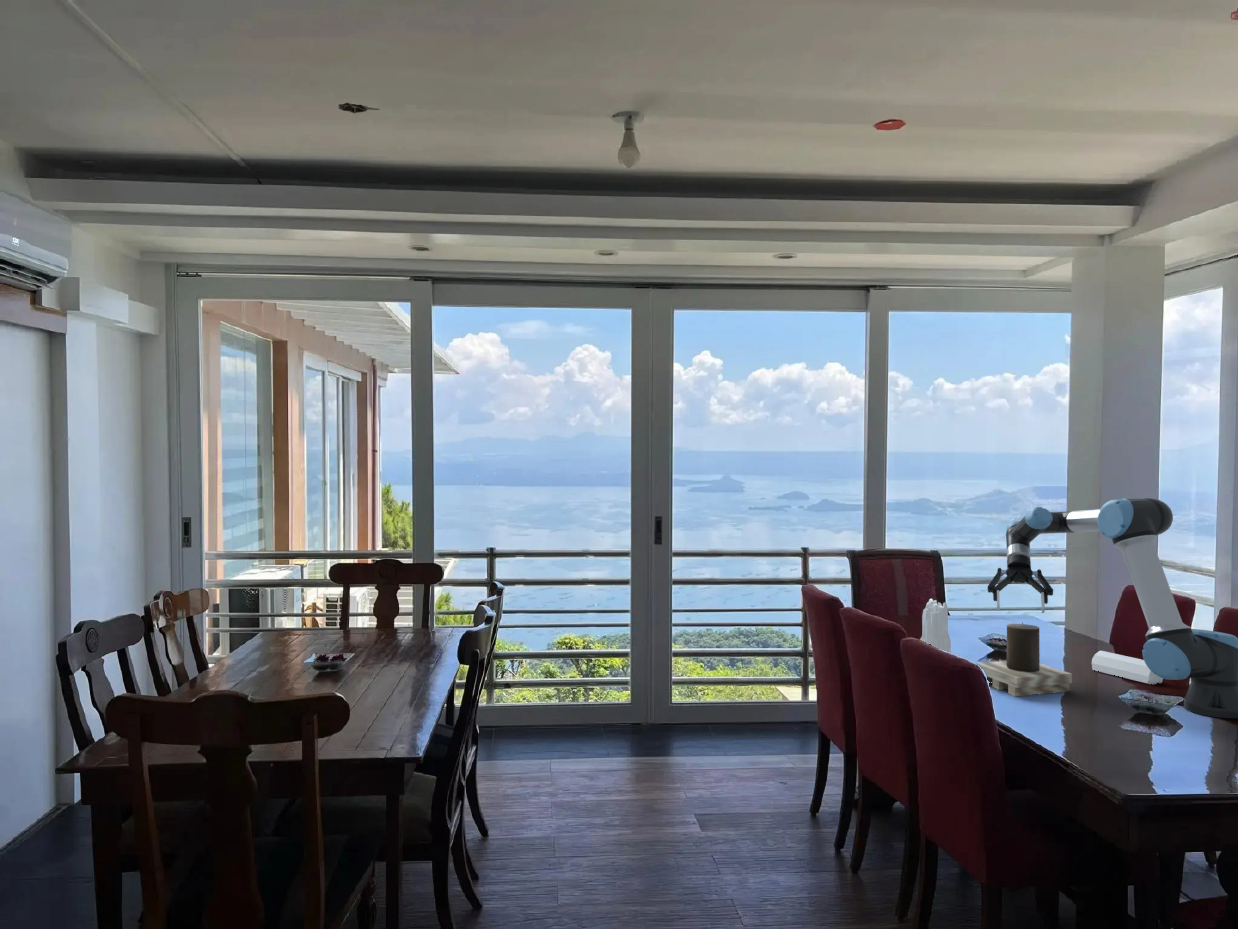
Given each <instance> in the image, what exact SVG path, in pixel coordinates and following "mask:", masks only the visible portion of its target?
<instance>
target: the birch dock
mask: <svg viewBox="0 0 1238 929" xmlns="http://www.w3.org/2000/svg"><path fill="white" fill-rule="evenodd" d="M1006 663H1007V660H1002V661H1001V660H999V661H986V662H975V665H976V664H977V665H979V666H980V667H981V669H983V670H984V672H985V674H986V676H987V680H988V681H989V682H990V684H991V682H992V688H993V687H994V688H993V689H995V688H996V689H995V690H998V691H1004V689H1007V692H1008V695H1010V694H1011V695H1010V696H1013V697H1023V696H1025V697H1027V696H1033V695H1032V694H1038V695H1040V694H1039V693H1050V694H1057V693H1056V692H1062V693H1069V692H1068V691H1070V689H1071V688H1070V687H1071V685H1070V684H1073V674H1072V673H1071V672H1068V671H1065V670H1061V669H1058V668H1055V667H1052V666H1049V665H1046V664H1043V663H1040V670H1039V671H1034V672H1025V671H1018V670H1012V669H1010V668H1008V667H1007V665H1006ZM990 684H989V685H990ZM1066 691H1067V692H1066ZM1054 692H1055V693H1054ZM1070 692H1071V691H1070Z"/></svg>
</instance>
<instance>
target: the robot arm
mask: <svg viewBox="0 0 1238 929" xmlns="http://www.w3.org/2000/svg"><path fill="white" fill-rule="evenodd" d="M1173 521H1174V514H1173V511H1172V509H1171V507H1170V506H1169V504H1167V503H1165V502H1164V501H1162V500H1161V499H1157V498H1151V497H1149V498H1147V497H1145V498H1123V497H1121V498H1119V499H1112V500H1108V501H1106V502H1105V503H1104V504H1103V505H1102V506H1101V507H1100V508H1096V509H1083V510H1071V511H1069V510H1067V511H1049V509H1047V508H1044V507H1042V506H1036V507H1034V508H1032V509H1031V510H1029V511H1028V512H1027V513H1026V514H1025V515H1024V516H1023V518H1021V519H1020V520H1016V521H1013V522H1010V523H1008V525H1007V526H1006V532H1005V539H1006V540H1005V541H1006V542H1005V543H1006V569H1002V568H1001V567H998V568H997V571H996V574H995V575H994V576H993V578H992V579H991V580H990V582H989V584H988V586H987V593H989V594H990V593H992V596H993V597H992V598H993V599H992V600H993V602H996V603H997V604H996V611H1000V609H1001V608H1000V607H1001V606H1000V605H1001V604H1000V603H1001V602H1000V592H1001V591H1002V590H1003V589H1005V588H1006V587H1007V586H1008V585H1011V584H1012V583H1021V584H1025V583H1027V584H1028V585H1030V586H1031V587H1032V588H1033V589H1035V591H1037V592H1038V593H1039V594H1040V601H1041V603H1040V604H1041V605H1040V606H1041V614H1045V609H1046V608H1045V605H1048V603H1049V596H1053V595H1054V589H1053V587H1052V586H1051V585H1050V583H1049V582H1048V580H1047V579H1046V578H1045V576H1044V575H1043V573H1042V570H1041V569H1040V568H1039V569H1037V570H1034V571H1033V570H1032V564H1031V545H1030V544H1031V542H1033V541H1034V540H1035V539H1036V538H1037V537H1038V536H1039V535H1041V534H1045V535H1046V534H1073V533H1088V532H1089V533H1091V532H1093V533H1094V532H1100V533H1101V534H1102V535H1104V536H1105V537H1106V538H1108V539H1111V541H1112V543H1113V546H1114V548H1116V549H1118V550H1120V551H1121V552H1122V553H1121V554H1122V555H1123V559H1124V561H1125V564H1126V567H1127V569H1128V572H1129V575H1130V578H1131V580H1132V584H1133V587H1134V590H1135V592H1136V593H1135V594H1136V595H1137V598H1138V601H1139V604H1140V607H1141V610H1142V612H1143V615H1144V618H1145V620H1146V624H1147V628H1148V630H1147V632H1146V634H1145V635H1144V636H1145V639H1146V642H1145V643H1144V644H1143V647H1142V648H1143V649H1142V651H1141V652H1142V658H1143V659H1142V660H1144V662H1145V664H1146V665H1147V667H1148V668H1149V669H1150V670H1151V671H1152V672H1153V673H1154V674H1156V675H1157V676H1159V677H1161V678H1163V680H1167V681H1168V680H1169V681H1170V680H1171V681H1172V680H1176V681H1180V680H1185V679H1187V680H1188V679H1190V684H1189V685H1188V688H1187V691H1186V695H1185V696H1184V698H1183V707H1184V709H1185V710H1187V711H1189V712H1191V711H1192V713H1194V712H1195V714H1199V715H1202V716H1207V717H1211V718H1212V717H1213V718H1222V719H1238V637H1237V636H1236V635H1233V634H1230V633H1226V632H1220V631H1214V630H1209V629H1208V630H1207V629H1198V628H1192V627H1191V626H1189V625H1187V624H1185V623H1184V622H1183V620H1182V617H1181V615H1180V612H1179V610H1178V607H1177V603H1176V602H1175V598H1174V596H1173V593H1172V590H1171V587H1170V585H1169V582H1168V578H1167V576H1166V572H1165V571H1164V568H1163V566H1162V562H1161V560H1160V556H1159V555H1158V552H1157V550H1156V546H1155V542H1156V541H1157V539H1158V536H1159V535H1162V534H1164V533H1165V532H1167V530H1169V529H1170V527H1171V526H1172V525H1173ZM1004 576H1005V578H1003V580H1001V578H1002V577H1004ZM1033 576H1034V577H1035V578H1036V579H1037V580H1038V581H1037V580H1035V579H1034V577H1033ZM1000 580H1001V581H1000ZM999 581H1000V582H999ZM1039 582H1040V583H1039Z"/></svg>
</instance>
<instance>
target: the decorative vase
mask: <svg viewBox="0 0 1238 929" xmlns="http://www.w3.org/2000/svg"><path fill="white" fill-rule="evenodd" d="M948 610H949V609H948V603H947V602H945V601H944V602H943V603H941V602H939V601H938V600H937V599H935V600H934V599H933V598H930V599H928V601H927V602H926V605H925V608H924V609H923V610H922V616H921V619H922V620H921V623H922V624H921V625H922V635H921V637H920V638H919V639H920V640H922V641H924V642H926V643H927V644H931V645H932V646H934V647H936V648H938V649H941V650H944V651H947V652H950V653H951V654H952V651H951V650H952V649H951V648H952V646H951V645H952V643H951V642H952V640H951V637H950V634H949V615H948V614H949V612H948Z"/></svg>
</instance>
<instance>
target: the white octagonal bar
mask: <svg viewBox="0 0 1238 929" xmlns="http://www.w3.org/2000/svg"><path fill="white" fill-rule="evenodd" d="M1091 669H1092V671H1094V670H1095V672H1098V671H1099V673H1102V674H1107V675H1111V676H1114V675H1115V676H1116V677H1118V676H1119V677H1120V678H1122V677H1123V679H1127V680H1131V681H1135V682H1138V683H1139V682H1140V683H1143V684H1148V685H1151V684H1152V685H1157V683H1159V684H1162V683H1163V680H1164V679H1163V678H1161V677H1159V676H1157V675H1156V674H1154V673H1153V672H1152V671H1151V670H1150V669H1149V668H1148V667H1147V665H1146V664H1145V662H1144V659H1141V658H1138V657H1132V656H1126V655H1123V654H1118V653H1113V652H1111V651H1110V652H1109V651H1105V650H1099V651H1098V652H1096V653H1095V654H1094V655H1093V656H1092V659H1091Z"/></svg>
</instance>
